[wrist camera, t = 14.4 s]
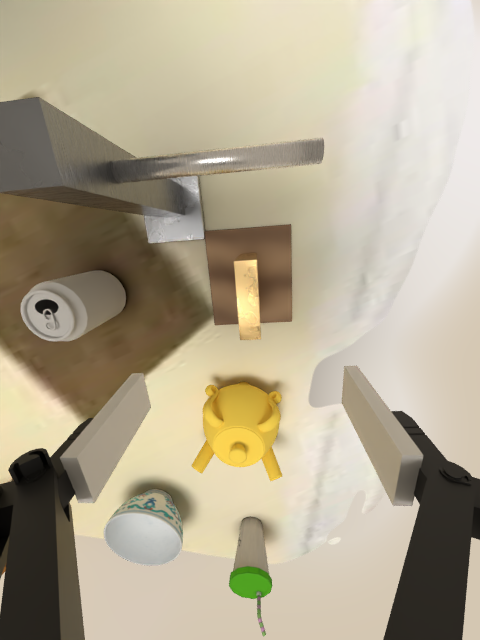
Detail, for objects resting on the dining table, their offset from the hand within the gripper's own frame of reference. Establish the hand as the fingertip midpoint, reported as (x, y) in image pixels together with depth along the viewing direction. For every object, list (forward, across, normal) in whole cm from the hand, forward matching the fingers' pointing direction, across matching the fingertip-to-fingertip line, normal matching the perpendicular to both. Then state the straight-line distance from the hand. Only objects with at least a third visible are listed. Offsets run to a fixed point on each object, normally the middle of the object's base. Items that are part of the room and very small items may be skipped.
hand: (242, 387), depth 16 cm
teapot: (+23, -3, -21) cm, 32 cm away
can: (+24, -23, +2) cm, 33 cm away
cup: (+23, -3, -51) cm, 56 cm away
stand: (+24, -4, +14) cm, 28 cm away
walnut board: (+23, 0, +3) cm, 24 cm away
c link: (+23, 0, +2) cm, 23 cm away
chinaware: (+23, -23, -44) cm, 55 cm away
